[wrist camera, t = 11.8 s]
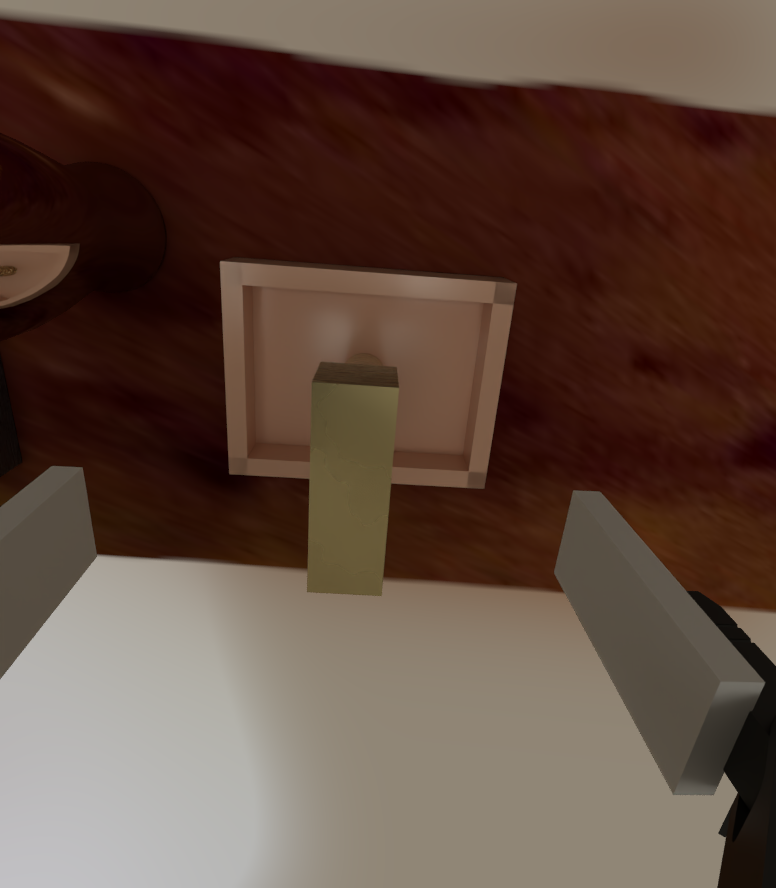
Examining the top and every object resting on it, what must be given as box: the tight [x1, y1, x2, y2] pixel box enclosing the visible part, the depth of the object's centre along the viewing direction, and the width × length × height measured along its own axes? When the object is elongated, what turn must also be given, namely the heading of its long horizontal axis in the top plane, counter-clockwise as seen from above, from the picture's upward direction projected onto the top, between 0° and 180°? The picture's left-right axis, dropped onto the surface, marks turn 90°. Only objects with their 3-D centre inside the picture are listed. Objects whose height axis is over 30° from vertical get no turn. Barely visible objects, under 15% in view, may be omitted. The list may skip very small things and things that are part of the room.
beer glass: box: [0, 133, 166, 341], centre depth 20 cm, size 7×7×15 cm
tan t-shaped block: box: [307, 353, 399, 596], centre depth 23 cm, size 7×2×14 cm, turn 176°
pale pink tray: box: [220, 257, 517, 489], centre depth 29 cm, size 14×11×3 cm
